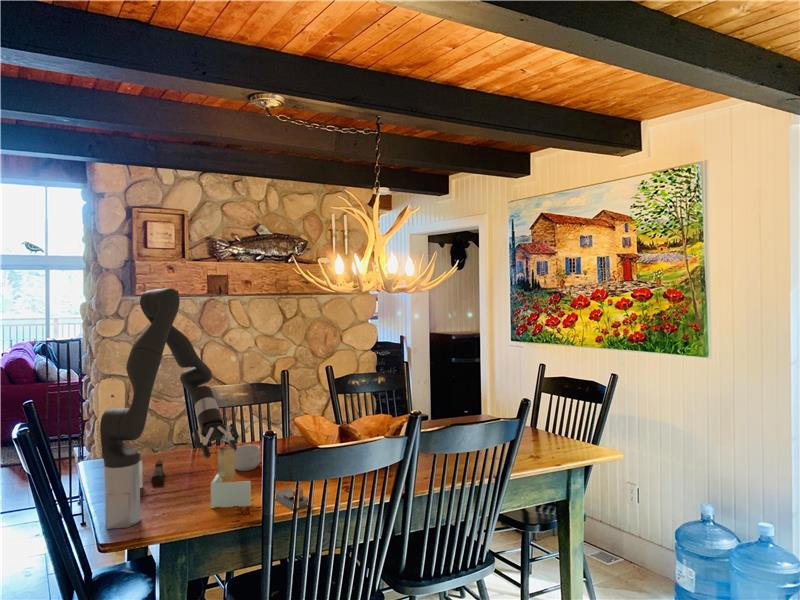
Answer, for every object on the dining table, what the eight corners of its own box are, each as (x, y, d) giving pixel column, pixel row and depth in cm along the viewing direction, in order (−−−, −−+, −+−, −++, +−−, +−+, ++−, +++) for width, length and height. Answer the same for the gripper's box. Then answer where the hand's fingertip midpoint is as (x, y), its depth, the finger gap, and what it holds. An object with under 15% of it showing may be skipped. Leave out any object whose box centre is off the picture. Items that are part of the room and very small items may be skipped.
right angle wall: (250, 505, 180) (250, 481, 180) (211, 508, 179) (210, 483, 179) (255, 492, 192) (255, 470, 192) (218, 494, 191) (218, 472, 191)
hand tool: (163, 485, 202) (163, 472, 202) (151, 487, 201) (151, 473, 201) (167, 470, 220) (167, 458, 220) (156, 471, 219) (156, 459, 219)
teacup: (253, 473, 213) (253, 452, 213) (226, 472, 215) (225, 451, 215) (268, 462, 227) (267, 442, 227) (242, 462, 229) (241, 441, 229)
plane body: (271, 498, 187) (271, 482, 186) (288, 493, 190) (288, 478, 190) (292, 510, 176) (292, 493, 176) (309, 505, 179) (309, 489, 179)
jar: (144, 483, 204) (144, 449, 204) (140, 491, 196) (139, 455, 196) (117, 486, 201) (116, 451, 201) (111, 493, 193) (110, 458, 193)
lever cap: (218, 475, 187) (217, 448, 187) (228, 473, 189) (228, 446, 189) (224, 479, 183) (224, 451, 183) (235, 477, 185) (234, 449, 185)
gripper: (189, 410, 191) (202, 452, 182) (231, 404, 200) (245, 444, 191) (184, 423, 195) (197, 465, 186) (225, 417, 204) (239, 456, 195)
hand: (221, 454), depth 189 cm, fingers open, 8 cm apart
